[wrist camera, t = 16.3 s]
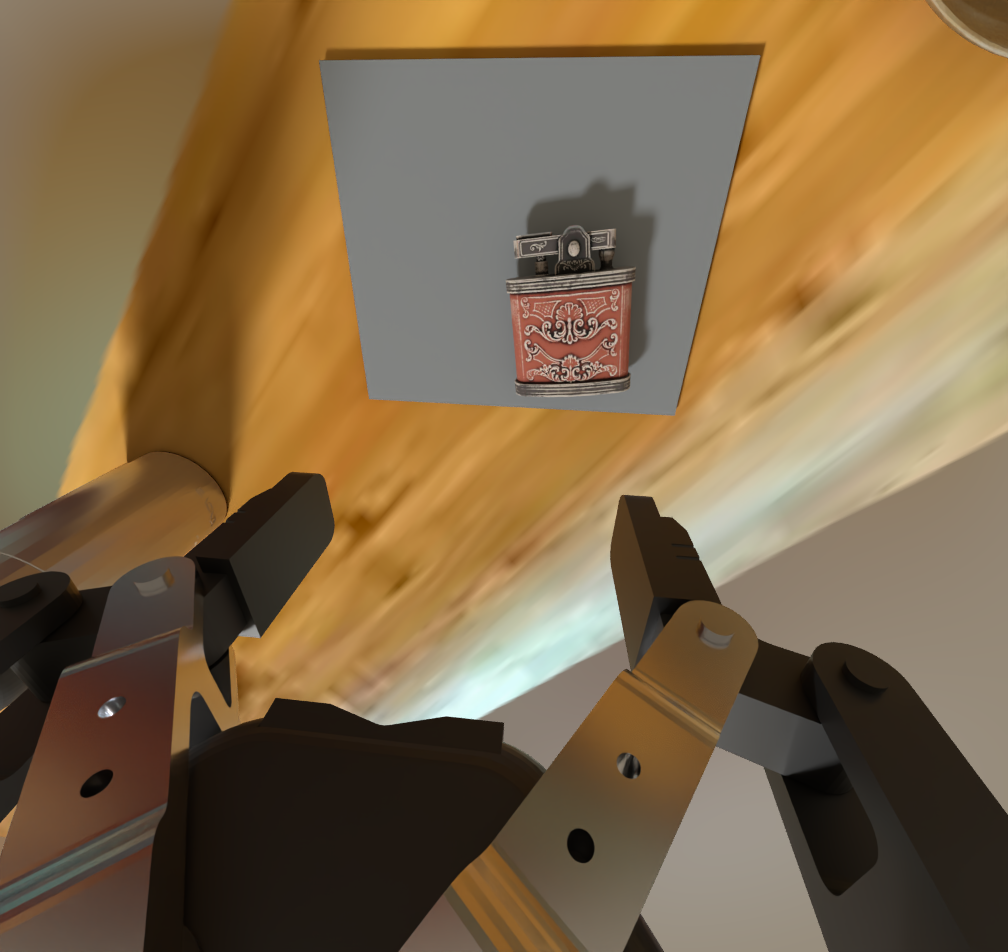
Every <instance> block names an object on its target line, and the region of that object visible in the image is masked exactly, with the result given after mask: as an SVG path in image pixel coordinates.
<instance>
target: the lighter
mask: <svg viewBox="0 0 1008 952" xmlns="http://www.w3.org/2000/svg"><path fill="white" fill-rule="evenodd" d="M513 242H514V254H515V258H525V257H534V256H536V262H535V274H536V275H532V276H524V277H516V278H510V279H507V280H506V289H507V293H510V304H511V315H512V326H513V338H514V349H515V361H516V372H517V378H516V379H515V388H516V394H517V395H520V396H525V397H573V396H588V395H600V394H610V393H619V392H624V391H626V390H628V389H629V388H630V377H631V374H630V373H629V372H628V363H629V341H630V318H631V295H632V282H633V281H635V271H636V267H635V266H625V267H613V266H612V260H613V257H614V254H615V247H616V229H607V230H599V231H591V232H585V230H584V229H583V228H582V227H581V226H579V225H573V226H569V227H568V228H566V229H565V231H564V233H563V235H557V236H552V232H544V233H536V234H528V235H520V236H516V240H515V241H513ZM597 249H599V259H600V262H601V267H600V269H595V263H594V260H593V259H592V258H591V257H590V250H597ZM552 254H559V262H558V263H557V264H556V265H555V273H550V274H549V273H548V261H546V255H552Z"/></svg>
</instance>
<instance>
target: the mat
mask: <svg viewBox="0 0 1008 952" xmlns="http://www.w3.org/2000/svg"><path fill="white" fill-rule="evenodd" d="M759 60H760V55H735V56H650V57H565V58H480V59H396V60H319V64H320V71H321V78H322V84H323V91H324V98H325V105H326V111H327V118H328V125H329V132H330V138H331V145H332V152H333V158H334V165H335V172H336V179H337V185H338V192H339V199H340V206H341V212H342V219H343V226H344V233H345V239H346V246H347V253H348V259H349V266H350V273H351V280H352V286H353V293H354V300H355V307H356V313H357V320H358V327H359V334H360V340H361V347H362V354H363V360H364V367H365V374H366V381H367V387H368V394H369V399H378V400H397V401H415V402H434V403H452V404H471V405H489V406H507V407H526V408H544V409H563V410H581V411H600V412H618V413H637V414H655V415H674V416H675V412H676V407H677V403H678V399H679V395H680V391H681V386H682V382H683V378H684V374H685V370H686V365H687V361H688V357H689V353H690V349H691V344H692V340H693V336H694V332H695V328H696V324H697V319H698V315H699V311H700V307H701V303H702V298H703V294H704V290H705V286H706V282H707V277H708V273H709V269H710V265H711V261H712V256H713V252H714V248H715V244H716V240H717V236H718V231H719V227H720V223H721V219H722V215H723V210H724V206H725V202H726V198H727V194H728V189H729V185H730V181H731V177H732V173H733V168H734V164H735V160H736V156H737V152H738V148H739V143H740V139H741V135H742V131H743V127H744V122H745V118H746V114H747V110H748V106H749V101H750V97H751V93H752V89H753V85H754V80H755V76H756V72H757V68H758V64H759ZM573 225H579V226H581V227H582V228H583V229H584V230H585V232H591V231H599V230H607V229H616V247H615V254H614V257H613V260H612V266H613V267H625V266H635V267H636V271H635V281H633V282H632V295H631V318H630V341H629V363H628V372H629V373H630V374H631V377H630V388H629V389H628V390H626V391H624V392H619V393H610V394H600V395H588V396H573V397H525V396H520V395H517V394H516V388H515V379H516V378H517V372H516V361H515V349H514V338H513V326H512V315H511V304H510V293H507V289H506V280H507V279H510V278H516V277H524V276H532V275H536V274H535V262H536V256H534V257H525V258H515V254H514V242H513V241H515V240H516V236H520V235H528V234H536V233H544V232H552V236H557V235H563V233H564V231H565V229H566V228H568V227H569V226H573ZM590 257H591V258H592V259H593V260H594V263H595V269H600V267H601V262H600V259H599V249H597V250H590ZM546 261H548V273H549V274H550V273H555V265H556V264H557V263H558V262H559V254H552V255H546Z"/></svg>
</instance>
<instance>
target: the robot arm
mask: <svg viewBox="0 0 1008 952" xmlns="http://www.w3.org/2000/svg"><path fill="white" fill-rule="evenodd" d="M226 512H227V507H226V501H225V497H224V495H223V493H222V491H221V489H220V487H219V486H218V484H217V483H216V482H215V480H214V479H213V478H212V477H211V476H210V475H209V474H208V473H207V472H206V471H205V470H203V469H202V468H201V467H200V466H198V465H197V464H195V463H193V462H192V461H190V460H188V459H186V458H184V457H181V456H179V455H176V454H172V453H168V452H152V453H148V454H145V455H143V456H141V457H139V458H138V459H136V460H134V461H132V462H130V463H125V464H123V465H121V466H119V467H117V468H115V469H113V470H111V471H109V472H108V473H106V474H104V475H102V476H100V477H98V478H96V479H94V480H92V481H90V482H88V483H87V484H85V485H83V486H81V487H79V488H77V489H75V490H73V491H71V492H69V493H67V494H66V495H64V496H62V497H60V498H58V499H56V500H54V501H52V502H50V503H49V504H47V505H45V506H43V507H41V508H39V509H37V510H35V511H33V512H31V513H29V514H27V515H25V516H24V517H22V518H20V519H19V521H17V522H16V523H14V524H12V525H10V526H8V527H6V528H4V529H2V530H1V531H0V710H2V709H3V708H5V707H7V706H8V705H9V706H8V707H7V708H6V709H4V710H3V711H2V712H1V713H0V823H1V821H2V820H3V819H4V818H5V817H6V816H7V815H8V814H9V812H10V811H11V810H12V809H13V808H14V807H15V806H16V805H17V806H16V810H15V813H14V816H13V819H12V822H11V825H10V828H9V831H8V834H7V837H6V840H5V843H4V846H3V849H2V852H1V855H0V952H664V951H663V949H662V948H661V946H660V944H659V943H658V941H657V939H656V938H655V936H654V935H653V933H652V931H651V930H650V928H649V927H648V925H647V923H646V922H645V920H644V918H643V917H642V915H641V914H640V913H641V910H642V908H643V906H644V904H645V901H646V899H647V897H648V895H649V893H650V890H651V888H652V886H653V884H654V882H655V879H656V877H657V875H658V873H659V870H660V868H661V866H662V864H663V862H664V859H665V857H666V855H667V853H668V850H669V848H670V846H671V844H672V842H673V839H674V837H675V835H676V833H677V830H678V828H679V826H680V824H681V822H682V819H683V817H684V815H685V813H686V810H687V808H688V806H689V804H690V802H691V799H692V797H693V794H694V792H695V790H696V788H697V786H698V784H699V782H700V779H701V777H702V775H703V773H704V770H705V768H706V766H707V764H708V762H709V759H710V757H711V755H712V753H713V750H714V748H715V746H717V747H719V748H722V749H724V750H726V751H728V752H731V753H733V754H735V755H738V756H740V757H742V758H745V759H747V760H749V761H752V762H754V763H756V764H759V765H761V766H763V767H764V769H765V772H766V775H767V778H768V781H769V783H770V786H771V789H772V792H773V795H774V798H775V800H776V803H777V806H778V809H779V812H780V814H781V818H782V820H783V823H784V826H785V829H786V832H787V835H788V837H789V840H790V843H791V846H792V849H793V852H794V854H795V857H796V860H797V863H798V866H799V869H800V871H801V874H802V877H803V880H804V883H805V886H806V888H807V891H808V894H809V897H810V900H811V903H812V905H813V908H814V911H815V914H816V917H817V919H818V923H819V925H820V928H821V931H822V934H823V937H824V940H825V942H826V945H827V948H828V951H829V952H1008V815H1007V813H1006V812H1005V811H1004V809H1003V808H1002V807H1001V805H1000V804H999V803H998V801H997V800H996V799H995V797H994V796H993V795H992V793H991V792H990V791H989V789H988V788H987V787H986V785H985V784H984V783H983V781H982V780H981V779H980V777H979V776H978V775H977V773H976V772H975V771H974V769H973V768H972V767H971V765H970V764H969V763H968V761H967V760H966V758H965V757H964V756H963V754H962V753H961V752H960V750H959V749H958V748H957V746H956V745H955V744H954V742H953V741H952V740H951V739H950V737H949V736H948V735H947V733H946V732H945V731H944V729H943V728H942V727H941V725H940V724H939V722H938V721H937V720H936V718H935V717H934V716H933V714H932V713H931V712H930V711H929V709H928V708H927V706H926V705H925V704H924V703H923V701H922V700H921V698H920V697H919V696H918V695H917V693H916V692H915V690H914V689H913V688H912V686H911V685H910V684H909V683H908V682H907V681H906V679H905V678H904V677H903V676H902V675H901V674H900V673H899V672H898V671H897V670H895V669H894V668H893V667H892V666H890V665H889V664H888V663H886V662H885V661H883V660H882V659H880V658H878V657H877V656H875V655H873V654H871V653H869V652H867V651H865V650H863V649H860V648H858V647H855V646H852V645H848V644H843V643H836V642H831V643H824V644H821V645H819V646H818V647H817V648H816V649H815V650H814V652H813V653H812V655H811V657H808V656H805V655H802V654H799V653H795V652H793V651H790V650H786V649H783V648H781V647H777V646H774V645H772V644H769V643H766V642H764V641H762V640H760V639H758V638H757V636H756V634H755V632H754V630H753V629H752V627H751V626H750V625H749V624H748V622H747V621H746V620H745V619H743V618H742V617H741V616H740V615H739V614H737V613H736V612H734V611H733V610H731V609H729V608H727V607H725V606H723V605H722V604H721V602H720V600H719V597H718V595H717V593H716V591H715V589H714V587H713V585H712V583H711V581H710V579H709V576H708V574H707V572H706V570H705V568H704V566H703V564H702V562H701V561H699V555H698V553H697V551H696V549H695V548H694V547H693V546H694V545H693V543H692V541H691V539H690V537H689V534H688V532H687V530H685V529H684V528H683V527H682V526H681V525H680V524H679V523H678V522H677V521H676V520H674V519H673V518H671V517H660V515H659V512H658V510H657V507H656V505H655V502H654V500H653V498H652V497H646V496H631V495H622V496H621V497H620V500H619V504H618V510H617V515H616V520H615V526H614V531H613V536H612V542H611V551H610V560H611V569H612V574H613V579H614V584H615V590H616V595H617V600H618V605H619V611H620V616H621V621H622V626H623V632H624V637H625V642H626V647H627V652H628V658H629V663H630V668H631V672H630V671H629V670H627V669H625V670H624V671H622V672H621V673H620V674H619V675H618V676H617V678H616V679H615V680H614V681H613V683H612V684H611V685H610V687H609V688H608V689H607V691H606V692H605V694H604V695H603V696H602V697H601V699H600V700H599V701H598V703H597V704H596V705H595V707H594V708H593V709H592V711H591V712H590V713H589V715H588V716H587V717H586V719H585V720H584V721H583V723H582V724H581V725H580V727H579V728H578V729H577V731H576V732H575V733H574V734H573V736H572V737H571V739H570V740H569V741H568V742H567V744H566V745H565V747H564V748H563V749H562V751H561V752H560V753H559V754H558V756H557V757H556V758H555V760H554V761H553V762H552V764H551V765H550V766H549V768H548V769H547V770H546V769H545V768H544V767H543V766H542V765H541V764H540V763H538V762H537V761H536V760H535V759H533V758H532V757H531V756H529V755H528V754H526V753H524V752H523V751H521V750H519V749H518V748H516V747H514V746H511V745H509V744H507V743H505V742H503V734H504V723H502V722H492V721H483V720H474V719H465V718H456V717H439V718H433V719H426V720H420V721H413V722H407V723H400V724H394V725H385V726H384V725H378V724H376V723H373V722H371V721H369V720H366V719H364V718H362V717H359V716H357V715H355V714H352V713H350V712H348V711H345V710H343V709H341V708H338V707H336V706H334V705H332V704H327V703H317V702H308V701H299V700H290V699H281V698H275V700H274V702H273V703H272V705H271V707H270V708H269V710H268V712H267V713H266V715H265V717H264V718H260V719H256V720H252V721H249V722H245V723H242V724H240V718H239V706H238V691H237V676H236V661H235V652H234V649H233V647H232V645H231V644H232V643H233V642H234V640H235V639H236V638H237V637H238V636H246V637H256V638H261V637H262V635H263V634H264V632H265V631H266V630H267V628H268V627H269V626H270V624H271V623H272V621H273V620H274V619H275V617H276V616H277V615H278V613H279V612H280V611H281V609H282V608H283V606H284V605H285V604H286V602H287V601H288V600H289V598H290V597H291V595H292V594H293V593H294V591H295V590H296V589H297V587H298V586H299V584H300V583H301V582H302V580H303V579H304V578H305V576H306V575H307V573H308V572H309V571H310V569H311V568H312V567H313V565H314V564H315V563H316V561H317V560H318V558H319V557H320V556H321V554H322V553H323V552H324V550H325V549H326V547H327V546H328V545H329V543H330V542H331V540H332V537H333V533H334V518H333V513H332V509H331V504H330V500H329V495H328V491H327V486H326V482H325V479H324V477H323V476H322V475H321V474H315V473H300V472H291V473H289V474H287V475H286V476H285V477H284V478H283V479H282V480H281V481H280V482H278V483H277V484H276V485H275V486H274V487H273V488H272V489H269V490H267V491H265V492H263V493H261V494H259V495H257V496H255V497H253V498H251V499H250V500H249V501H248V502H246V503H245V504H244V505H243V506H242V507H241V508H239V509H238V512H237V513H234V514H232V515H231V516H230V517H229V518H228V519H227V520H226V523H222V522H223V520H224V519H225V516H226ZM221 523H222V524H221ZM220 524H221V525H220ZM219 525H220V526H219ZM214 529H215V530H214ZM213 530H214V531H213ZM212 531H213V532H212ZM211 532H212V533H211ZM207 535H208V536H207ZM206 536H207V537H206ZM205 537H206V538H205ZM204 538H205V539H204ZM200 541H201V542H200ZM199 542H200V543H199ZM198 543H199V544H198ZM197 544H198V545H197ZM193 547H194V548H193ZM192 548H193V549H192ZM191 549H192V550H191ZM190 550H191V551H190ZM187 552H188V553H187ZM186 553H187V554H186ZM185 554H186V555H185ZM184 555H185V556H184ZM183 556H184V557H183Z"/></svg>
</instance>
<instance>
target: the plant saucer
mask: <svg viewBox="0 0 1008 952" xmlns="http://www.w3.org/2000/svg"><path fill="white" fill-rule="evenodd" d="M926 2H927V3H928V5H929V6H930V7H931V8H932V10H933V11H934V12H935V13H936V14H937V15H938V17H939V18H940V19H941V20H942V21H943V22H944V23H946V24H947V25H948V26H949V27H950V28H951V29H952V30H954V31H955V32H956V33H958V34H959V35H960V36H962V37H963V38H964V39H966V40H967V41H969V42H971V43H972V44H974V45H976V46H978V47H980V48H982V49H984V50H986V51H989V52H991V53H993V54H996V55H999V56H1002V57H1006V58H1008V0H926Z"/></svg>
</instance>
